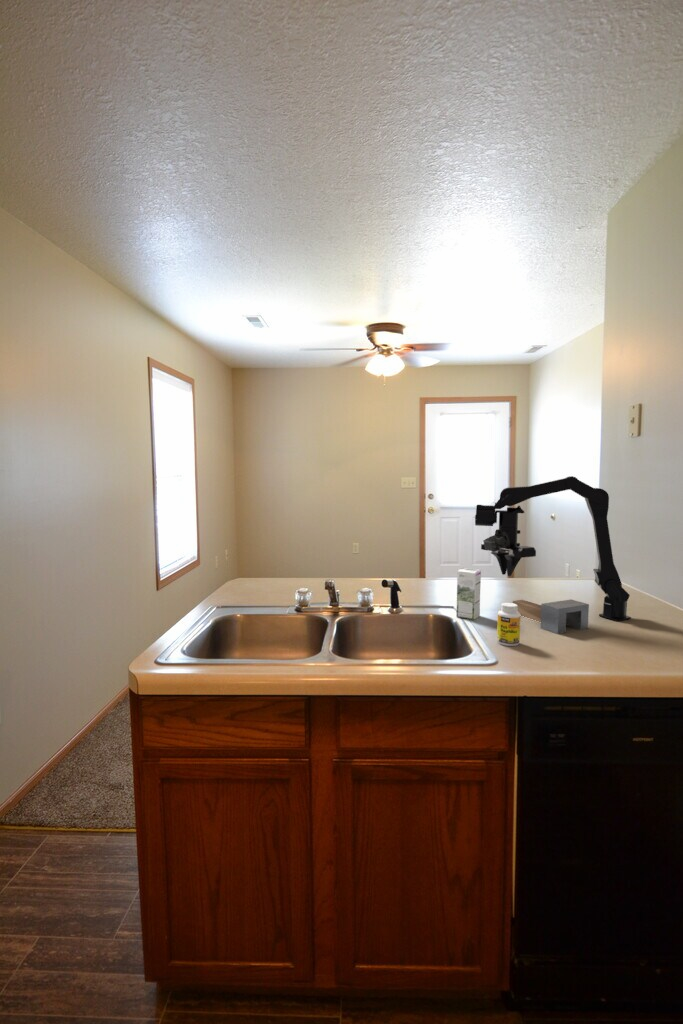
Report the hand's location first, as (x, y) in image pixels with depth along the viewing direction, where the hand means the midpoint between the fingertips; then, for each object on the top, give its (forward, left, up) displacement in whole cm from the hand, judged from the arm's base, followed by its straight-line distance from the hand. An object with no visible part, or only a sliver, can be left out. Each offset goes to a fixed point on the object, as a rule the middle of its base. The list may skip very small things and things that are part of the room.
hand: (506, 575), depth 169 cm
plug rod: (0, +13, -11) cm, 17 cm away
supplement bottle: (+24, +26, -11) cm, 37 cm away
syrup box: (+17, +2, -11) cm, 20 cm away
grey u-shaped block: (0, +23, -11) cm, 25 cm away
